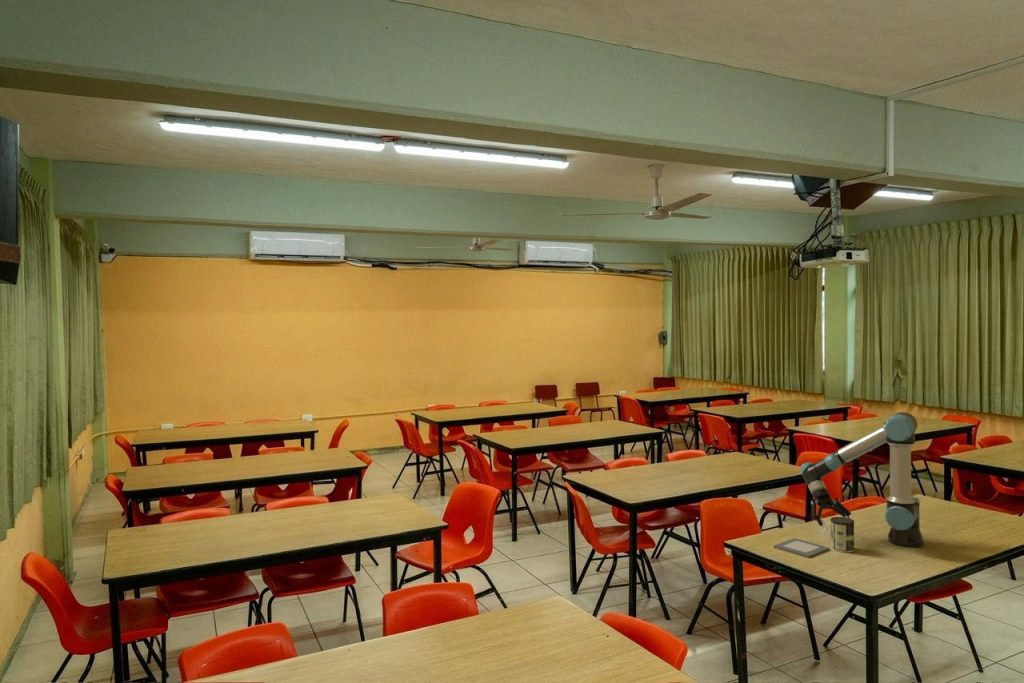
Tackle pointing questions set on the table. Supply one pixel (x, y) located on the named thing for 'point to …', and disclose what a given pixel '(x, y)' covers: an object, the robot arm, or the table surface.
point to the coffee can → (842, 534)
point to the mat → (801, 547)
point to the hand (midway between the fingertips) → (838, 530)
